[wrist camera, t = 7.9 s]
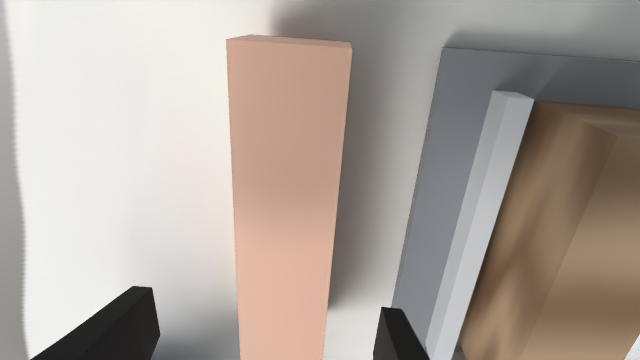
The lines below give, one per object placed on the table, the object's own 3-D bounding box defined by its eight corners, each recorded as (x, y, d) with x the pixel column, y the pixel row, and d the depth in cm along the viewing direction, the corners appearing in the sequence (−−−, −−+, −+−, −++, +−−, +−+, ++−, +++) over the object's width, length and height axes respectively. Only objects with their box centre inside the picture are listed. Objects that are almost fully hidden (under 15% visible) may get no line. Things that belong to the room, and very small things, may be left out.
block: (323, 316, 22) (319, 385, 18) (259, 311, 22) (241, 378, 18) (349, 40, 15) (352, 48, 11) (256, 33, 15) (226, 39, 11)
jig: (572, 362, 22) (596, 398, 20) (383, 345, 23) (388, 379, 20) (729, 68, 15) (793, 76, 13) (442, 47, 15) (459, 51, 13)
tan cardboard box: (525, 342, 21) (578, 433, 16) (457, 336, 21) (490, 425, 16) (628, 107, 15) (755, 146, 10) (532, 100, 15) (617, 136, 10)
